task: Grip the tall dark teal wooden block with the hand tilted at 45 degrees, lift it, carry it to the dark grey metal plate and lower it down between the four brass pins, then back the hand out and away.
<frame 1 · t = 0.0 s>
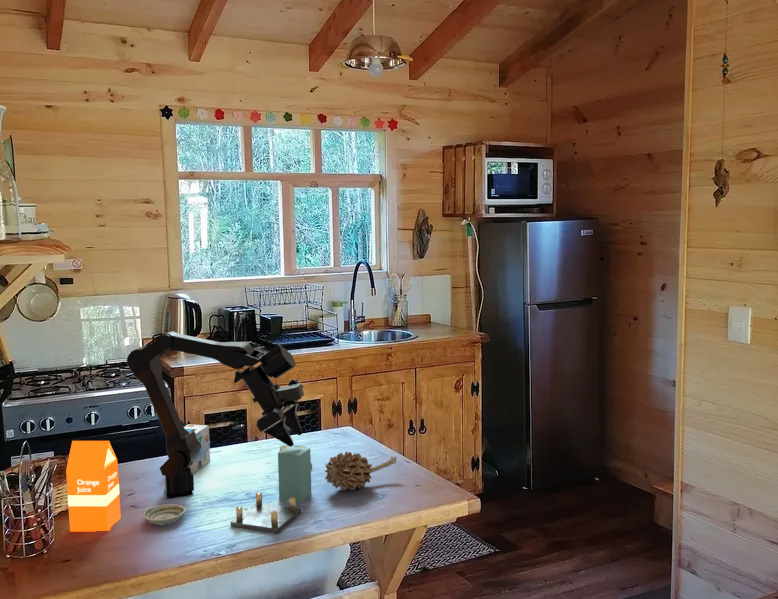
hand: (296, 439, 186), 15 cm above the table, tool tilted 35°, fingers open, 9 cm apart
light bulb box: (192, 467, 212), on the table
teal block: (295, 496, 189), on the table
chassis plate: (266, 520, 175), on the table
computer: (295, 463, 216), on the table
orange juice: (95, 525, 173), on the table
pine cone: (362, 486, 196), on the table
saucer: (164, 522, 175), on the table
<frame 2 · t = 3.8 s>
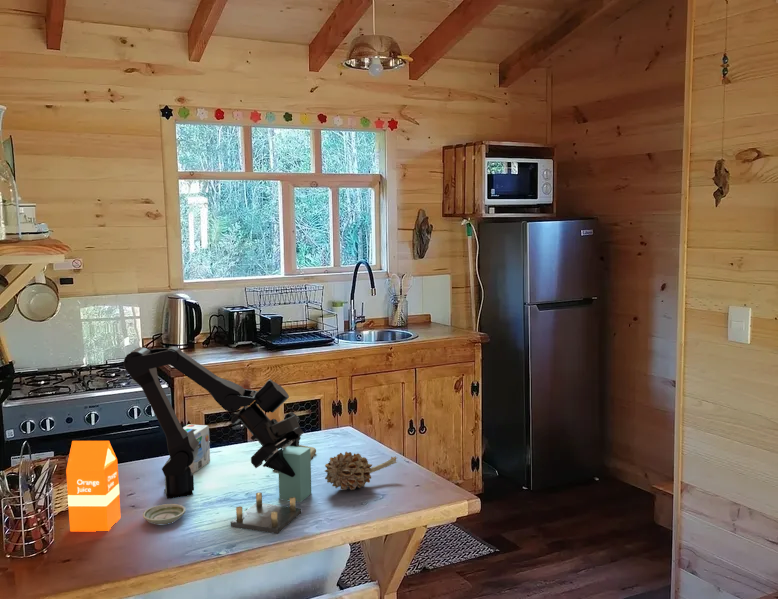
hand: (299, 471, 188), 7 cm above the table, tool tilted 45°, fingers closed on teal block, 6 cm apart
teal block: (295, 496, 189), on the table, touching gripper
when the fingers open (9 cm above the table, at t = 7.8 s): teal block drops 1 cm, resting on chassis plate.
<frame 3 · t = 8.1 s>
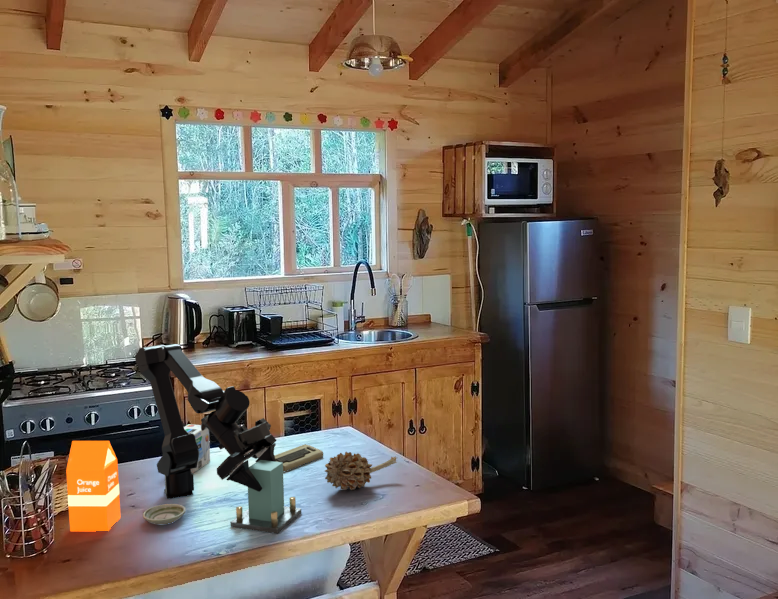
hand: (270, 483, 173), 9 cm above the table, tool tilted 45°, fingers open, 9 cm apart
teal block: (266, 515, 175), point 1 cm above the table, touching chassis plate
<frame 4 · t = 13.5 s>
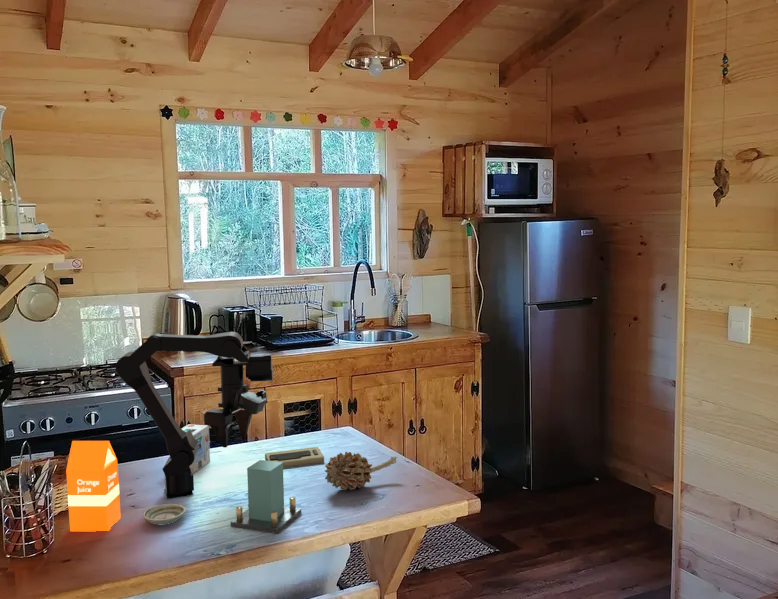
hand: (234, 441, 192), 13 cm above the table, tool pointing down, fingers open, 9 cm apart
at the end: teal block 0.0 cm off-centre on the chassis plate, point 1.2 cm above the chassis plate's base; teal block tilted 0°; the gripper is holding nothing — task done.
